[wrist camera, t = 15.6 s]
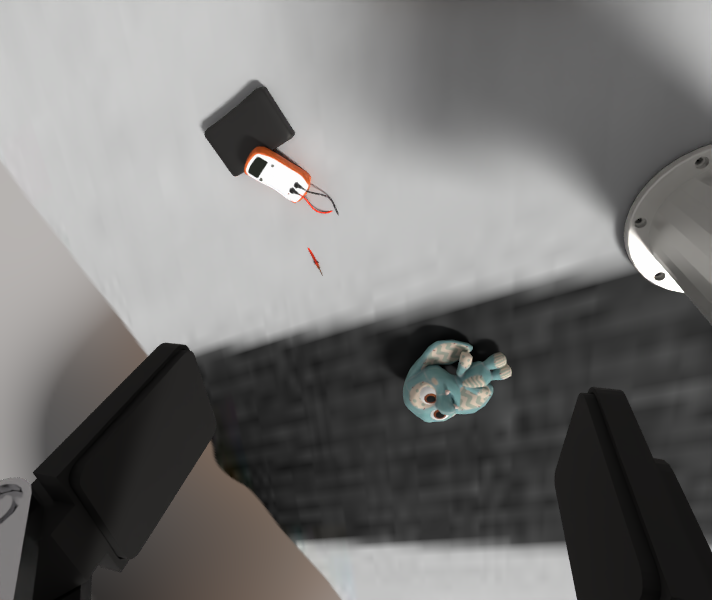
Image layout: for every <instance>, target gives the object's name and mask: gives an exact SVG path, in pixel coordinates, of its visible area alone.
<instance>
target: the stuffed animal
mask: <svg viewBox="0 0 712 600" xmlns="http://www.w3.org/2000/svg"><path fill="white" fill-rule="evenodd" d="M472 348H473V346H472V345H471V344H469V343H467V342H462V341H457V340H440V341H436V342H435V343H433V344H432V345H430V346H429V347H428V348H427V349H426V351H425V352H424V353H423V354H422V356H421V357H420V358H419V359H418V360H417V361H416V362H415V363H414V365H413V366H412V367H411V368H410V370H409V373H408V375H407V378H406V380H405V383H404V388H403V398H404V402H405V405H406V406H407V407H408V409H409V410H410V411H412V412H413V413H414V414H415V415H416V416H418V417H419V418H421V419H422V420H424V421H425V422H435V421H445V420H447V419H449V418H451V417H452V416H454V415H455V414H469V413H475V412H476V411H478V410H479V409H481V408H482V407H484V406H485V405H486V403H487V402H488V400H489V399H490V398H491V396H492V394H493V386H492V385H491V383H489V382H490V381H491V380H503V379H506V378H508V377H510V376H511V373H512V371H511V368H510V367H509V365H507V364H506V357H505V356H504V354H502V353H501V352H498V353H494V354H492V355H491V356H489V357H488V358H487V359H486V360H485V361H484V362H480V361H477V362H473V363H472V358H473V357H472V355H471V354H470V353H469V352H470V351H472ZM458 360H459V364H458V369H457V372H456V373H457V375H452V374H450V373H448V372H447V371H446V370H445V369H443V368H442V367H440V366H439V365H451V364H453V363H454V362H456V361H458ZM490 369H494V370H493V371H490Z"/></svg>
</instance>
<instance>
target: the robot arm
mask: <svg viewBox="0 0 712 600" xmlns="http://www.w3.org/2000/svg"><path fill="white" fill-rule="evenodd" d="M699 158H700V160H699V162H697V163H695V162H696V161H697V159H699ZM639 218H640V220H639V221H636V220H637V219H639ZM635 221H636V222H635ZM624 243H625V249H626V252H627V254H628V257H629V259H630V261H631V262H632V263H633V265H634V267H635V268H636V269H637V270H638V271H639V272H640V273H641V275H642V276H643V277H644V278H646V279H647V280H649V281H650V282H651V283H653V284H655V285H657V286H660V287H662V288H665V289H667V290H672V291H676V292H681V293H685V294H686V295H687V296H688V298H689V299H690V300H691V301H692V302H693V304H694V305H695V306H696V307H697V308H698V309H699V311H700V312H701V313H702V314H703V315H704V317H705V318H706V319H707V320H708V321H709V322H710V324H711V325H712V144H710V145H707V146H704V147H701V148H698V149H696V150H694V151H692V152H690V153H688V154H686V155H684V156H682V157H680V158H678V159H677V160H675V161H674V162H672V163H671V164H669V165H668V166H666V167H665V168H663V169H662V170H661V171H660V172H659V173H658V174H657V175H656V176H654V177H653V178H652V179H651V180H650V181H649V182H648V183H647V185H646V186H645V187H644V188H643V189H642V191H641V192H640V193H639V194H638V196H637V198H636V199H635V201H634V203H633V204H632V206H631V208H630V210H629V213H628V216H627V219H626V222H625V229H624ZM656 273H657V274H656ZM215 430H216V419H215V416H214V413H213V410H212V407H211V404H210V401H209V398H208V395H207V392H206V389H205V386H204V383H203V380H202V377H201V374H200V371H199V368H198V365H197V362H196V358H195V355H194V353H193V352H192V351H190V350H189V348H188V347H187V346H186V345H182V344H172V343H162V344H161V345H159V346H158V347H157V348H156V349H155V350H154V351H153V352H152V353H151V354H150V355H149V356H148V357H147V358H146V359H145V360H144V361H143V362H142V363H141V364H140V365H139V366H138V367H137V368H136V369H135V370H134V371H133V372H132V373H131V374H130V375H129V376H128V377H127V378H126V379H125V380H124V381H123V382H122V383H121V384H120V385H119V386H118V388H116V389H115V390H114V391H113V392H112V393H111V394H110V396H108V397H107V398H106V399H105V400H104V401H103V402H102V403H101V405H99V406H98V407H97V409H95V410H94V412H92V413H91V414H90V415H89V416H88V417H87V419H86V420H85V421H84V422H83V423H82V424H81V425H80V426H79V427H78V428H77V429H76V430H75V431H74V432H73V433H72V434H71V435H70V436H69V437H68V438H67V439H66V440H65V441H64V442H63V443H62V444H61V445H60V446H59V447H58V448H57V449H56V450H55V451H54V452H53V453H52V454H51V455H50V456H49V457H48V458H47V459H46V460H45V461H44V462H43V463H42V464H41V465H40V466H39V467H38V468H37V469H36V470H35V471H34V472H33V473H34V475H35V476H36V478H37V479H36V480H35V481H34V482H33V483H32V484H31V485H30V483H29V482H28V481H27V480H25V479H22V478H7V479H3V480H0V600H91V579H92V573H93V572H94V571H95V569H96V568H97V566H98V565H100V566H101V567H102V568H105V569H110V570H114V571H118V572H122V570H123V569H124V567H125V566H126V564H127V563H128V561H129V560H130V559H132V558H134V557H135V556H137V555H138V553H139V552H140V550H141V549H142V547H143V546H144V544H145V543H146V541H147V539H148V538H149V536H150V534H151V533H152V531H153V530H154V528H155V527H156V525H157V524H158V522H159V521H160V519H161V517H162V516H163V514H164V513H165V511H166V510H167V508H168V506H169V505H170V503H171V502H172V500H173V499H174V497H175V495H176V494H177V492H178V491H179V489H180V487H181V486H182V484H183V483H184V481H185V479H186V478H187V476H188V475H189V473H190V472H191V470H192V469H193V467H194V465H195V464H196V462H197V461H198V459H199V458H200V456H201V454H202V453H203V451H204V450H205V448H206V446H207V445H208V443H209V442H210V440H211V439H212V437H213V435H214V433H215ZM555 489H556V494H557V499H558V504H559V509H560V515H561V520H562V525H563V530H564V535H565V540H566V545H567V550H568V555H569V560H570V565H571V571H572V576H573V581H574V586H575V591H576V596H577V600H712V552H711V549H710V547H709V545H708V543H707V541H706V539H705V537H704V535H703V533H702V531H701V528H700V526H699V524H698V522H697V520H696V518H695V516H694V514H693V512H692V509H691V507H690V505H689V503H688V501H687V499H686V497H685V495H684V493H683V491H682V488H681V486H680V484H679V482H678V480H677V478H676V476H675V474H674V472H673V470H672V469H671V467H670V465H669V464H668V463H667V462H666V461H664V460H661V459H656V458H653V457H652V454H651V452H650V450H649V448H648V445H647V443H646V441H645V439H644V436H643V434H642V432H641V429H640V427H639V425H638V423H637V420H636V418H635V416H634V414H633V411H632V409H631V407H630V405H629V402H628V400H627V398H626V396H625V394H624V392H623V391H621V390H616V389H606V388H596V387H591V388H590V389H589V391H588V393H580V394H579V396H578V399H577V402H576V405H575V408H574V412H573V415H572V418H571V422H570V425H569V428H568V431H567V435H566V438H565V441H564V444H563V448H562V451H561V454H560V458H559V461H558V464H557V467H556V471H555Z"/></svg>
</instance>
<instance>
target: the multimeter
mask: <svg viewBox="0 0 712 600" xmlns="http://www.w3.org/2000/svg"><path fill="white" fill-rule="evenodd" d="M294 135H295V132H294V130H293V129H292V127H291V126H290V124H289V123H288V121H287V119H286V118H285V116H284V115H283V113H282V112H281V110H280V108H279V107H278V105H277V104H276V102H275V101H274V99H273V97H272V96H271V94H270V93H269V91H268V90H267V88H266V87H260V88H257V89H256V90H254V91H253V92H252V93H251V94H250V95H249V96H248V97H247V98H246V99H245V100H243V101H242V102H241V103H240V104H239V105H238V106H237V107H235V108H234V109H233V110H232V111H230V112H229V113H228V114H227V115H226V116H224V117H223V118H222V119H220V120H219V121H218V122H216V123H215V124H214V125H212V126H211V127H209V128H208V129H207V130H206V131H205V137H206V138H207V140H208V141H209V143H210V144H211V145H212V147H213V148H214V150H215V151H216V153H217V154H218V155H219V157H220V158H221V160H222V161H223V162H224V164H225V165H226V167H227V168H228V169H229V171H230V172H231V174H232V175H233V176H238V175H240V174H242V173H243V172H245V174H247V175H248V176H250V177H252V178H254V179H256V180H257V181H259V182H261V183H263V184H265V185H267V186H269V187H271V188H272V189H274V190H276V191H277V192H279V193H280V194H282V195H283V196H284V197H285V198H287V199H289V200H290V201H291V202H293V203H296V202H298V201H300V200H301V199H302V198H304V199H305V200H306V201H307V202H308V200H307V199H306V198H305V197H304V196H305V195H306V193H307V192H309V193H312V194H317V195H322V196H325V197H327V198H329V199H330V200H331V201H332V199H331V198H330V197H328V196H326V195H323V194H319V193H314V192H310V191H308V190H309V187H310V182H311V176H310V175H309V174H308V173H307V172H306V171H305V170H303V169H301V168H300V167H298V166H296V165H295V164H293V163H291V162H290V161H288V160H287V159H285V158H283V157H282V156H280V155H279V154H277V153H275V152H274V151H272V150H274V149H275V148H277V147H278V146H280V145H282V144H283V143H285V142H286V141H288V140H290V139H291V138H292V137H293V136H294ZM332 203H333V205H334V202H333V201H332ZM308 204H309V205H310V206H311V204H310V203H309V202H308ZM311 208H312V209H313V210H315V211H316V212H319V213H330V212H332V211H328V212H320V211H317V210H316V209H314V208H313V207H312V206H311ZM334 208H335V210H336V212H337V214H338V211H337V209H336V207H335V205H334ZM338 215H339V214H338ZM308 250H309V252H310V254H311V256H312V258H313V260H314V261H315V264H316V266H317V268H318V269H319V270H320V267H319V264H318V262H317V261H316V259H315V257H314V255H313V253H312V252H311V250H310V249H309V248H308ZM320 272H321V270H320ZM321 274H322V272H321ZM322 276H323V275H322Z"/></svg>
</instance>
